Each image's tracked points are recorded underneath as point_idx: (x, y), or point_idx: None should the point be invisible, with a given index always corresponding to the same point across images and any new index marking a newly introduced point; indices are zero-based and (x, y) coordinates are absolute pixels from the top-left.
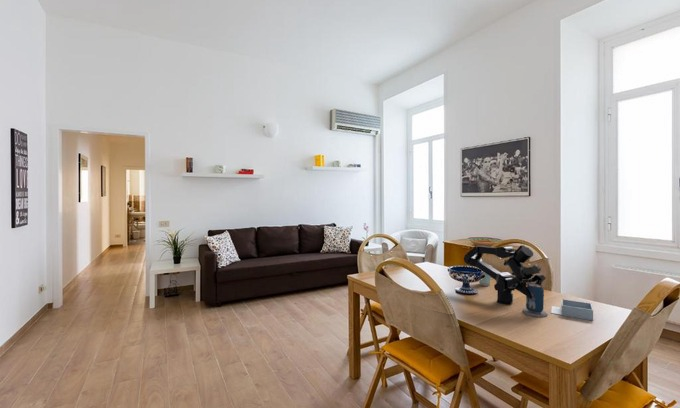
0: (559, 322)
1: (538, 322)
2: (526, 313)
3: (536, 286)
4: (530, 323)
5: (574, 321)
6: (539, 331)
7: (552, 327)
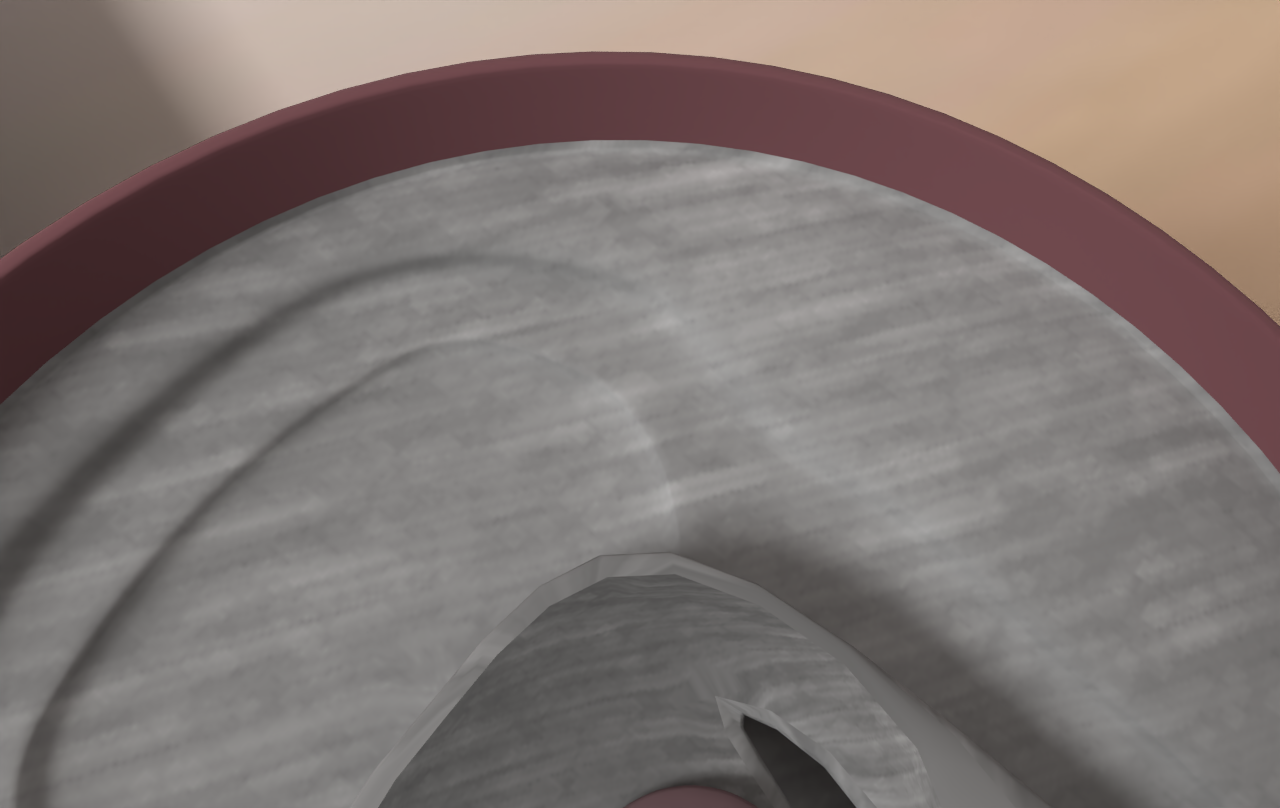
0: None
1: None
2: None
3: (660, 667)
4: None
5: (216, 51)
6: (1263, 41)
7: (922, 51)
